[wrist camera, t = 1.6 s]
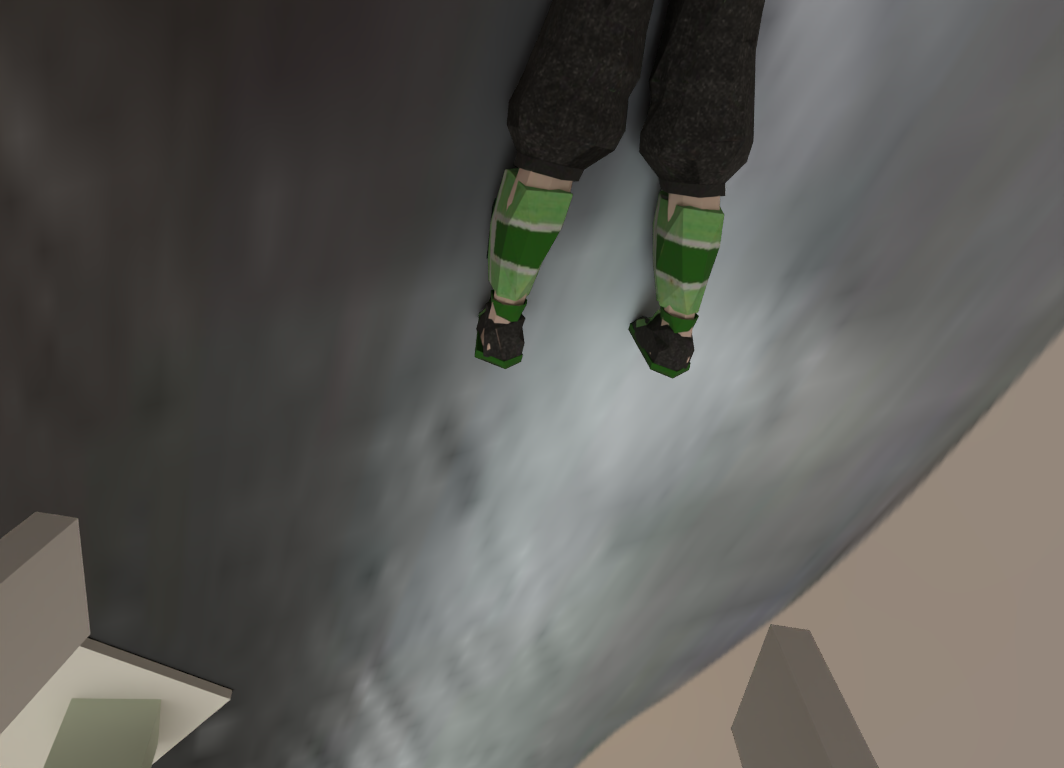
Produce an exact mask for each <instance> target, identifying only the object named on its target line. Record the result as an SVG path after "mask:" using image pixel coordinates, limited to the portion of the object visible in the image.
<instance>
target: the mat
mask: <svg viewBox="0 0 1064 768" xmlns="http://www.w3.org/2000/svg"><path fill="white" fill-rule="evenodd" d="M231 694H232V690H230V689H228V688H225V687H222V686H219V685H217V684H214V683H211V682H208V681H206V680H203V679H200V678H197V677H194V676H192V675H189V674H186V673H183V672H181V671H178V670H175V669H172V668H170V667H167V666H164V665H161V664H159V663H156V662H153V661H150V660H147V659H145V658H142V657H139V656H136V655H134V654H131V653H128V652H125V651H123V650H120V649H117V648H114V647H112V646H109V645H106V644H103V643H100V642H98V641H95V640H92V639H89V638H86V639H85V641H84V642H83V643H82V644H81V645H80V646H79V647H78V648H77V650H76V651H75V652H74V653H73V654H72V655H71V656H70V657H69V658H68V660H67V661H66V662H65V663H64V664H63V665H62V666H61V667H60V669H59V670H58V671H57V672H56V673H55V674H54V675H53V676H52V677H51V679H50V680H49V681H48V682H47V683H46V684H45V685H44V686H43V688H42V689H41V690H40V691H39V692H38V693H37V694H36V695H35V697H34V698H33V699H32V700H31V701H30V702H29V703H28V704H27V705H26V707H25V708H24V709H23V710H22V711H21V712H20V713H19V714H18V716H17V717H16V718H15V719H14V720H13V721H12V722H11V723H10V724H9V726H8V727H7V728H6V729H5V730H4V731H3V732H2V733H1V735H0V768H43V767H44V765H45V762H46V760H47V757H48V755H49V752H50V750H51V748H52V745H53V743H54V740H55V738H56V735H57V733H58V731H59V728H60V726H61V723H62V721H63V718H64V716H65V714H66V711H67V709H68V706H69V704H70V701H71V699H72V698H86V699H161V710H160V723H159V736H158V745H157V749H156V752H155V756H154V760H153V763H154V762H156V761H157V760H158V759H159V758H160V757H162V756H163V755H164V754H165V753H166V752H168V751H169V750H170V749H171V748H173V747H174V746H175V745H176V744H177V743H179V742H180V741H181V740H182V739H183V738H185V737H186V736H187V735H188V734H189V733H191V732H192V731H193V730H194V729H195V728H197V727H198V726H199V725H200V724H201V723H203V722H204V721H205V720H206V719H207V718H209V717H210V716H211V715H212V714H213V713H215V712H216V711H217V710H218V709H219V708H221V707H222V706H223V705H224V704H225V703H227V702H228V701H229V700H230V699H231ZM153 763H152V764H153Z"/></svg>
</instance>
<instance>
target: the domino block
mask: <svg viewBox="0 0 1064 768" xmlns="http://www.w3.org/2000/svg"><path fill="white" fill-rule="evenodd" d="M160 710H161V699H86V698H72V699H71V701H70V704H69V706H68V709H67V711H66V714H65V716H64V718H63V721H62V723H61V726H60V728H59V731H58V733H57V735H56V738H55V740H54V743H53V745H52V748H51V750H50V752H49V755H48V757H47V760H46V762H45V765H44V767H43V768H151V767H152V763H153V760H154V756H155V752H156V749H157V745H158V736H159V723H160Z"/></svg>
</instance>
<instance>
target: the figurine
mask: <svg viewBox="0 0 1064 768" xmlns="http://www.w3.org/2000/svg"><path fill="white" fill-rule="evenodd" d="M764 2H765V0H670V1H669V6H668V10H667V15H666V20H665V24H664V29H663V33H662V38H661V42H660V46H659V49H658V52H657V56H656V59H655V62H654V66H653V69H652V72H651V76H650V79H649V85H650V95H651V102H650V107H649V111H648V115H647V118H646V121H645V123H644V125H643V128H642V130H641V133H640V154H641V155H642V156H643V157H644V159H645V160H646V161H647V163H648V164H649V165H650V167H651V168H652V169H653V171H654V172H655V173H656V175H657V176H658V177H659V181H660V186H661V190H663V191H660V192H659V197H658V202H657V207H656V211H655V216H654V221H653V267H654V277H655V287H656V299H657V301H659V306H661V310H657V312H656V313H655V314H654V316H653V317H651V318H647V317H644V316H642V317H641V318H639V319H638V320H636V321H635V322H634V323H630V326H629V329H628V330H629V331H630V333H631V335H632V337H633V339H634V340H635V342H636V344H637V346H638V348H639V349H640V351H641V353H642V355H643V357H644V358H645V360H646V362H647V364H648V366H649V367H650V369H651V370H653V371H656V372H658V373H661V374H663V375H665V376H668V377H670V378H675V377H676V376H678V375H680V374H682V373H684V372H686V371H688V370H689V368H690V359H691V357H692V355H693V352H694V345H693V337H692V328H693V327H694V325H695V323H696V321H697V319H698V317H699V316H698V315H697V314H696V313H698V311H699V308H700V304H701V301H702V298H703V295H704V291H705V288H706V285H707V282H708V279H709V276H710V273H711V270H712V267H713V264H714V262H715V259H716V256H717V253H718V250H719V247H720V241H721V234H722V227H723V220H724V213H723V211H722V210H721V208H720V196H725V183H726V182H727V181H728V180H729V179H730V178H731V177H732V176H733V175H734V174H735V173H736V172H737V171H738V170H739V169H740V168H741V167H742V166H743V165H744V164H745V163H746V162H747V160H748V156H749V153H750V150H751V147H752V144H753V136H754V95H755V55H756V46H757V41H758V35H759V29H760V23H761V17H762V11H763V7H764ZM653 3H654V0H552V3H551V6H550V10H549V12H548V15H547V17H546V20H545V22H544V24H543V27H542V29H541V32H540V34H539V37H538V39H537V41H536V44H535V46H534V49H533V51H532V54H531V56H530V59H529V61H528V63H527V66H526V68H525V71H524V73H523V75H522V77H521V79H520V81H519V83H518V85H517V87H516V89H515V91H514V93H513V95H512V97H511V99H510V101H509V107H508V118H507V126H508V129H509V131H510V134H511V137H512V139H513V142H514V145H515V147H516V150H517V155H516V159H515V162H514V165H515V166H517V167H519V168H514V169H505V172H504V175H503V179H502V182H501V186H500V189H499V193H498V196H497V199H496V198H495V200H494V203H493V206H492V215H491V223H490V233H489V242H488V251H487V258H488V278H489V281H490V283H491V285H492V287H493V289H494V290H491V298H490V300H489V302H488V303H486V308H485V309H484V310H483V311H482V312H481V313H480V312H479V315H478V316H479V321H478V325H477V328H476V329H477V339H476V348H475V357H476V358H478V359H481V360H484V361H486V362H489V363H491V364H494V365H496V366H499V367H501V368H504V369H507V368H509V367H511V366H513V365H515V364H517V363H519V362H521V359H522V355H523V354H522V351H523V347H524V336H523V329H522V326H523V323H524V320H525V317H524V316H523V315H522V312H523V310H524V308H525V306H526V304H527V299H526V296H527V295H529V293H530V291H531V288H532V286H533V283H534V281H535V279H536V276H537V274H538V271H539V269H540V267H541V264H542V262H543V260H544V258H545V256H546V255H547V253H548V251H549V249H550V248H551V246H552V244H553V242H554V241H555V239H556V237H557V235H558V234H559V232H560V230H561V228H562V226H563V223H564V220H565V217H566V214H567V211H568V208H569V205H570V202H571V199H572V196H573V194H572V193H570V191H571V186H572V182H573V181H579V179H580V177H581V175H582V173H583V171H584V169H586V168H587V167H589V166H590V165H592V164H594V163H595V162H597V161H598V160H600V159H601V158H603V157H605V156H606V155H608V154H609V153H611V152H612V151H614V150H615V148H616V147H617V145H618V143H619V141H620V139H621V138H622V136H623V134H624V132H625V129H626V118H627V107H628V97H629V96H630V94H631V92H632V91H633V89H634V87H635V85H636V84H637V82H638V80H639V79H640V74H641V67H642V60H643V53H644V46H645V39H646V32H647V28H648V24H649V20H650V16H651V12H652V7H653Z"/></svg>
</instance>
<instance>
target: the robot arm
mask: <svg viewBox="0 0 1064 768" xmlns="http://www.w3.org/2000/svg"><path fill="white" fill-rule="evenodd" d="M89 635H90V626H89V617H88V607H87V598H86V588H85V579H84V570H83V560H82V551H81V541H80V532H79V523H78V518H74V517H67V516H61V515H54V514H47V513H41V512H35V513H34V514H32V515H31V516H30V517H28V518H27V519H26V520H25V521H23V522H22V523H21V524H19V525H18V526H17V527H15V528H14V529H13V530H11V531H10V532H9V533H7V534H6V535H5V536H4V537H2V538H1V539H0V735H1V733H2V732H3V731H4V730H5V729H6V728H7V727H8V726H9V724H10V723H11V722H12V721H13V720H14V719H15V718H16V717H17V716H18V714H19V713H20V712H21V711H22V710H23V709H24V708H25V707H26V705H27V704H28V703H29V702H30V701H31V700H32V699H33V698H34V697H35V695H36V694H37V693H38V692H39V691H40V690H41V689H42V688H43V686H44V685H45V684H46V683H47V682H48V681H49V680H50V679H51V677H52V676H53V675H54V674H55V673H56V672H57V671H58V670H59V669H60V667H61V666H62V665H63V664H64V663H65V662H66V661H67V660H68V658H69V657H70V656H71V655H72V654H73V653H74V652H75V651H76V650H77V648H78V647H79V646H80V645H81V644H82V643H83V642H84V641H85V639H86V638H87V637H88V636H89ZM731 730H732V733H733V736H734V740H735V743H736V746H737V750H738V753H739V757H740V760H741V763H742V767H743V768H879V767H878V765H877V763H876V761H875V759H874V757H873V756H872V754H871V751H870V750H869V748H868V746H867V744H866V742H865V740H864V738H863V736H862V734H861V732H860V730H859V728H858V726H857V724H856V722H855V720H854V718H853V716H852V714H851V712H850V710H849V708H848V706H847V704H846V702H845V700H844V698H843V696H842V694H841V692H840V690H839V688H838V686H837V684H836V682H835V680H834V678H833V676H832V674H831V672H830V670H829V668H828V666H827V664H826V662H825V660H824V658H823V656H822V654H821V652H820V650H819V648H818V646H817V644H816V642H815V640H814V638H813V636H812V634H811V632H810V631H809V630H805V629H798V628H792V627H785V626H779V625H772V624H771V625H770V627H769V630H768V632H767V635H766V638H765V640H764V643H763V646H762V648H761V651H760V653H759V656H758V659H757V661H756V664H755V667H754V670H753V672H752V675H751V677H750V680H749V682H748V685H747V688H746V690H745V693H744V696H743V698H742V701H741V704H740V706H739V709H738V712H737V714H736V717H735V719H734V722H733V725H732V727H731Z"/></svg>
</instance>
